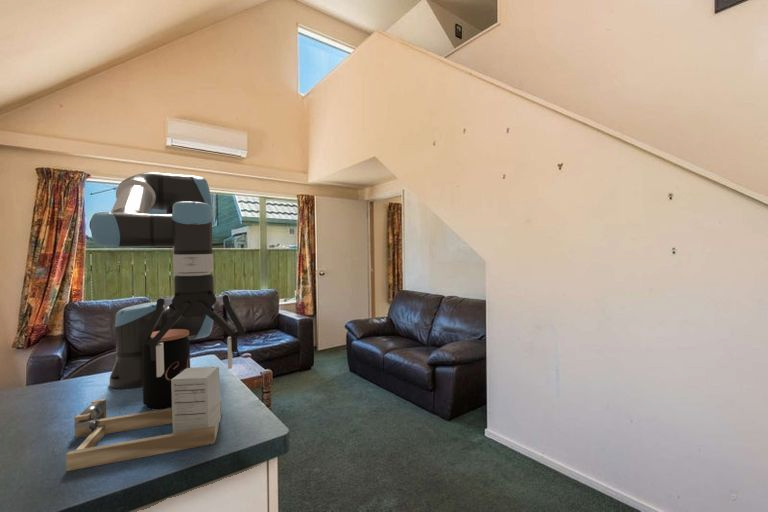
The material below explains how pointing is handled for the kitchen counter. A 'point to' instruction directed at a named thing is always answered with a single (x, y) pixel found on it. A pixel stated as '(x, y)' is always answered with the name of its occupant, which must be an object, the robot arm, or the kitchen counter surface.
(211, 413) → the supplement box
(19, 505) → the kitchen counter surface
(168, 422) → the bay
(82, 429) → the winch
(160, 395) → the coffee jar
